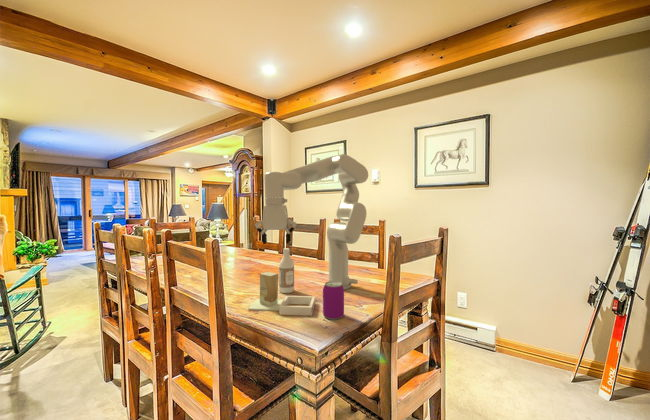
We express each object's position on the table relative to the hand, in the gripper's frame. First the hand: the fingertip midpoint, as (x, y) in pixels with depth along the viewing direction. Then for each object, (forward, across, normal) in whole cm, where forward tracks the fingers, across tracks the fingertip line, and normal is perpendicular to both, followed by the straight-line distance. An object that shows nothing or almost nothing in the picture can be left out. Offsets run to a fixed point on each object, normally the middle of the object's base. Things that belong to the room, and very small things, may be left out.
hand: (276, 243), depth 115 cm
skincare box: (+24, +3, +4) cm, 24 cm away
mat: (+24, +4, +4) cm, 25 cm away
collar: (+24, -9, +8) cm, 27 cm away
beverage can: (+25, -23, +14) cm, 37 cm away
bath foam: (+25, -1, -14) cm, 29 cm away
